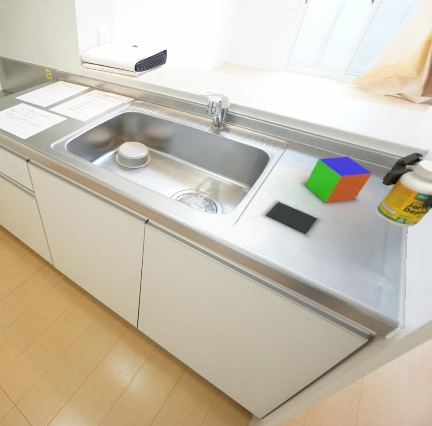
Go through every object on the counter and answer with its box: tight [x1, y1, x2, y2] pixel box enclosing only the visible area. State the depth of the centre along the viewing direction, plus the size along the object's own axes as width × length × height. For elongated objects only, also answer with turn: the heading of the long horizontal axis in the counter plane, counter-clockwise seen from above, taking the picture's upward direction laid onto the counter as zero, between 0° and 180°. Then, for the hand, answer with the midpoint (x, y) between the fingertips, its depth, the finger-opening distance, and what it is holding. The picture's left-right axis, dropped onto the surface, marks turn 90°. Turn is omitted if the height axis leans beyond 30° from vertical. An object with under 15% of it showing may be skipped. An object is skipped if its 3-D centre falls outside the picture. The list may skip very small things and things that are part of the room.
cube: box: [304, 156, 373, 203], centre depth 72 cm, size 8×8×8 cm
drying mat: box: [266, 201, 318, 235], centre depth 67 cm, size 9×7×1 cm
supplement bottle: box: [375, 159, 432, 228], centre depth 43 cm, size 5×5×10 cm
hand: (407, 190), depth 42 cm, fingers closed on supplement bottle, 5 cm apart
